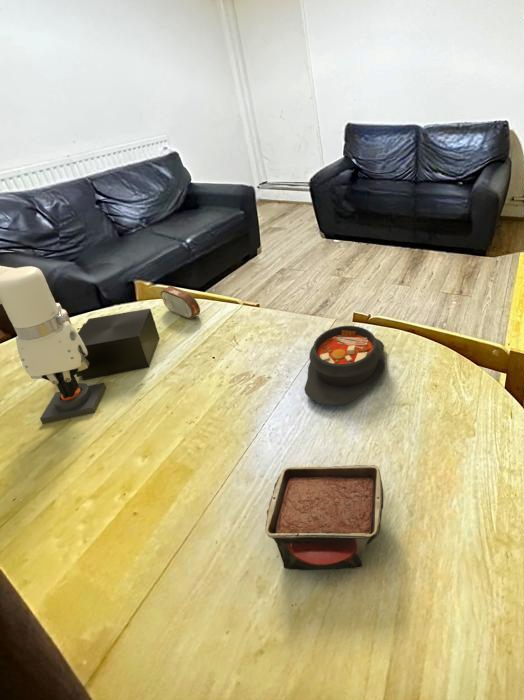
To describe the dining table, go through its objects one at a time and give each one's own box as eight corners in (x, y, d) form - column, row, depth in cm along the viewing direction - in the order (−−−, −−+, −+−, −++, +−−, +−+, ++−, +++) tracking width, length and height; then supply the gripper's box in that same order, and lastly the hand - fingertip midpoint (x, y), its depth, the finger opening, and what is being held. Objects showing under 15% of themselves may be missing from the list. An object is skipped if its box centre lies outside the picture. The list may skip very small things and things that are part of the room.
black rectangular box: (83, 380, 101) (69, 348, 97) (100, 348, 112) (88, 318, 108) (149, 367, 104) (138, 336, 100) (159, 337, 116) (150, 308, 112)
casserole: (336, 334, 114) (334, 308, 110) (400, 348, 107) (399, 321, 104) (285, 399, 93) (280, 370, 89) (361, 421, 86) (358, 391, 83)
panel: (42, 424, 89) (36, 412, 87) (58, 397, 96) (52, 386, 94) (94, 413, 91) (89, 401, 90) (106, 387, 98) (101, 376, 97)
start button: (60, 406, 91) (57, 400, 90) (67, 395, 94) (64, 389, 93) (79, 402, 92) (76, 396, 91) (85, 391, 95) (82, 385, 94)
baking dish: (298, 488, 75) (281, 454, 71) (394, 486, 72) (382, 449, 68) (272, 583, 63) (250, 549, 58) (387, 585, 60) (372, 549, 55)
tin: (203, 318, 124) (197, 294, 120) (194, 323, 121) (187, 299, 118) (172, 305, 131) (165, 282, 127) (163, 310, 128) (156, 287, 125)
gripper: (87, 308, 90) (113, 374, 97) (6, 322, 86) (40, 389, 94) (74, 328, 83) (103, 397, 90) (-14, 343, 79) (24, 414, 87)
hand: (71, 392), depth 92 cm, fingers closed
